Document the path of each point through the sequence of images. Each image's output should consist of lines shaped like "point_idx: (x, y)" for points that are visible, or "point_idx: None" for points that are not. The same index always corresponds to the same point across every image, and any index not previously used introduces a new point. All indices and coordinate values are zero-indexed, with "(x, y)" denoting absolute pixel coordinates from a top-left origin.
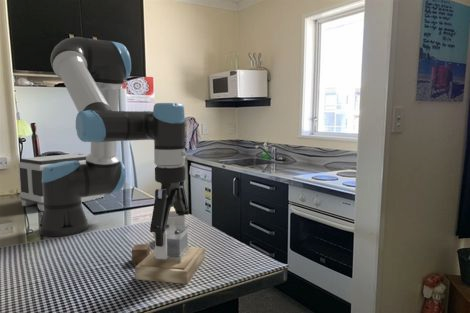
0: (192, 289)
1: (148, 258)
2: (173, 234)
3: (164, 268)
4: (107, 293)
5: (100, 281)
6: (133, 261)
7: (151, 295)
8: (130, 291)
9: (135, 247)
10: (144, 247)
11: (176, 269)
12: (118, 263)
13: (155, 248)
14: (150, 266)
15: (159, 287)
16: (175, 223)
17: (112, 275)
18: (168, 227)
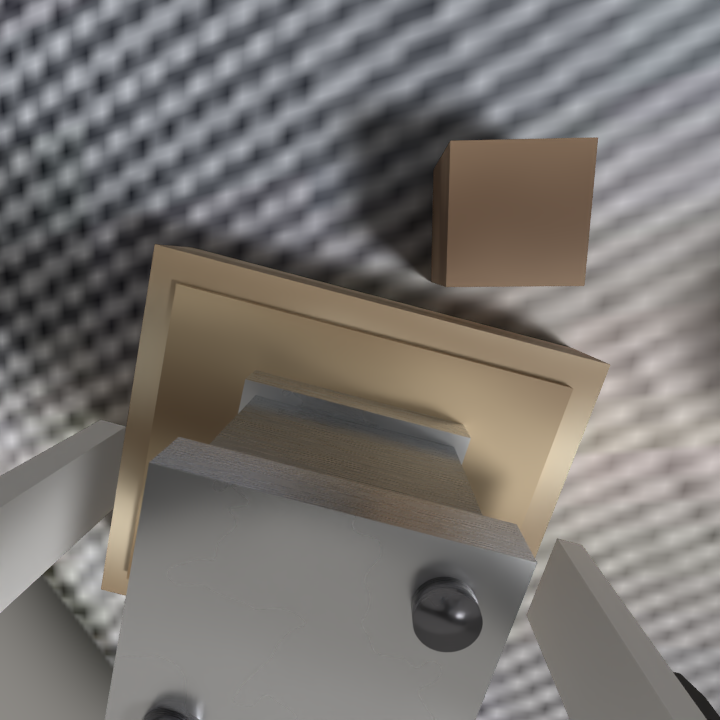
0: (87, 565)
1: (292, 322)
2: (111, 697)
3: (141, 453)
4: (10, 114)
5: (162, 7)
6: (435, 176)
7: (11, 375)
8: (44, 251)
9: (512, 163)
10: (501, 253)
11: (127, 528)
12: (458, 53)
13: (38, 458)
14: (167, 356)
15: (99, 404)
16: (641, 672)
17: (252, 69)
18: (389, 628)
